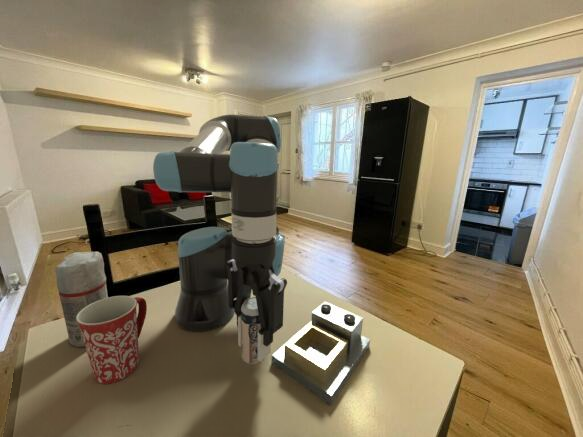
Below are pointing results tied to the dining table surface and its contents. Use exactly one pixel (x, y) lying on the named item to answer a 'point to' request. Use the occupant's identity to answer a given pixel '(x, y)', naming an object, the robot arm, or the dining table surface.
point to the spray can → (80, 288)
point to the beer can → (250, 331)
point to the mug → (112, 336)
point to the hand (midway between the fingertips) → (254, 348)
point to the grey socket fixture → (324, 351)
